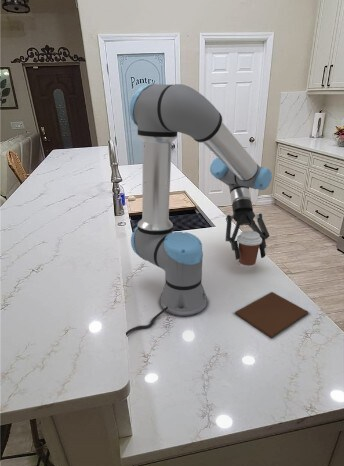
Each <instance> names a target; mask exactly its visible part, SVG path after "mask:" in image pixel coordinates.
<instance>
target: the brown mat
mask: <svg viewBox="0 0 344 466" xmlns="http://www.w3.org/2000/svg"><path fill="white" fill-rule="evenodd" d="M234 314H235V315H236V316H238V317H239V318H241V319H243V320H244V322H246V323H248V324H249V325H251V326H253V327H254V328H256V329H257V330H258V331H260V332H262V333H263V334H265V335H266V336H267V337H269V338H271V339H272V338H274V337H275V336H276V335H278V334H280V333H281V332H283V331H284V330H286V329H287V328H289V327H290V326H292V325H293V324H295V323H297V322H298V321H299V320H301V319H302V318H304V317H306V316H307V315H308V314H309V311H307V310H306V309H304V308H302V307H301V306H298V305H297V304H295V303H293V302H292V301H289V299H288V300H287V299H286V298H284V297H282V296H280V295H279V294H277V293H275V292H273V291H271V292H269V293H267V294H266V295H264V296H262V297H260V298H259V299H257V300H254V301H253V302H251V303H249V304H248V305H245V306H243V307H241V308H240V309H238V310H235V313H234Z"/></svg>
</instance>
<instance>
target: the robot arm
mask: <svg viewBox="0 0 344 466" xmlns="http://www.w3.org/2000/svg"><path fill="white" fill-rule="evenodd" d="M129 116H130V119H131V121H133V124H134V125H135V126H136V127H137V137H138V138H139V139H140V140H141V141H142V189H141V191H142V192H141V193H142V195H141V196H142V197H141V199H142V200H141V201H142V203H141V205H142V206H141V215H142V217H141V219H140V220H139V221H138V222H137V226H136V227H135V228H134V229H133V232H132V233H131V236H130V245H131V248H132V250H133V252H134V253H135V254H136V255H137V256H138V257H139V258H141V259H142V260H144V261H146V262H149V263H150V264H152V265H154V266H156V267H158V268H160V269H162V270H163V271H164V276H165V277H164V278H165V283H164V287H163V289H162V292H161V295H160V305H161V307H162V310H161V311H160V312H158V313H157V314H156V315H155V316H154V317H152V319H151V321H150V322H149V324H147V325H137V326H135V327H132V328H130V329H128V330H127V331H126V332H125V333H126V337H127V336H128V335H129V334H130V333H131V332H134V331H136V330H139V329H148V328H150V327H152V325H153V324H154V321H155V320H156V319H158V318H159V317H160V316H161V315H162V314H163V313H165V312H167V313H169V314H170V315H173V316H177V317H178V316H179V317H189V316H190V317H191V316H194V315H197V314H199V313H201V312H202V311H204V309H205V308H206V306H207V294H206V291H205V288H204V286H203V284H202V283H203V282H202V278H203V258H204V252H203V243H202V242H201V239H200V238H199V237H198V236H196V235H194V234H193V233H190V232H186V231H185V232H182V231H174V224H173V222H172V221H171V220H170V219H169V217H170V197H171V196H170V195H171V194H170V193H171V168H172V147H173V146H172V145H173V144H172V143H173V142H174V141H175V140H176V139H177V138H178V133H180V134H184V135H187V136H189V137H191V138H192V139H193V140H194V141H195V142H197V143H200V144H201V143H202V144H203V145H205V146H206V147H207V148H208V149H209V151H211V153H212V154H214V155H215V156H216V158H214V159H213V160H212V162H211V164H210V166H209V172H210V174H211V175H212V176H213V177H214V178H215V179H216V180H218V181H220V182H222V183H224V184H225V185H226V186H228V188H229V195H230V201H231V208H232V213H233V214H232V215H230V214H227V216H226V217H225V222H226V229H225V238H224V240H225V242H228V243H230V246H231V251H233V252H234V256H235V260H236V261H237V260H238V261H239V258H240V255H239V242H238V241H237V240H236V239H237V237H238V233H239V229H240V227H241V226H248V227H249V228H251V231H255V232H257V233H259V234H260V237H261V238H262V243H261V244H260V245H259V254H260V258H261V259H263V258H265V257H266V248H267V244H266V243H267V242H266V240H267V239H269V237H270V233H269V231H268V229H267V227H266V224H265V221H264V219H263V214H262V213H259V214H258V213H255V212H254V209H253V202H252V196H251V191H250V189H253V190H259V191H264V190H267V189H268V187H269V186H270V184H271V182H272V178H273V172H272V171H271V169H270V168H267V167H265V166H260V165H259V164H258V163H257V161H255V159H254V158H253V157H252V156H251V154H249V152H248V151H247V150H246V148H245V147H244V146H243V145H242V144H241V143H240V142H239V140H238V139H237V138H236V137H235V135H233V133H232V131H230V129H229V128H228V127H227V125H225V124H224V121H223V115H222V114H221V112H220V111H219V110H218V109H217V108H216V106H215V105H214V104H213V103H212V102H211V101H210V100H208V98H207V97H205V96H204V95H203V94H202V93H200V92H199V91H198V90H196V89H194V88H193V87H191V86H189V85H186V84H181V83H176V84H175V83H174V84H163V83H160V84H159V83H151V84H147V85H143V86H140V87H139V88H137V90H136V91H135V92H134V93H133V95H132V97H131V99H130V103H129ZM254 219H255V220H256V221H255V220H254ZM233 220H234V221H235V222H236V224H235V227H234V230H233V233H232V234H231V232H232V221H233ZM256 222H257V223H256Z"/></svg>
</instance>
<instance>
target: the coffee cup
mask: <svg viewBox="0 0 344 466" xmlns="http://www.w3.org/2000/svg"><path fill="white" fill-rule="evenodd" d="M236 241H237V242H238V248H239V255H240V258H239V259H238V261H237V263H238V265H240V266H241V267H243V268H244V267H245V268H252V267H255V266H256V263H257V258H258V254H259V253H258V252H259V251H260V248H259V245H260V244H261V243H262V238H261V237H260V234H259V233H257V232H255V231H253V230H244V231H243V230H242V231H241V232H240V234H239V235H237V236H236Z"/></svg>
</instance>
